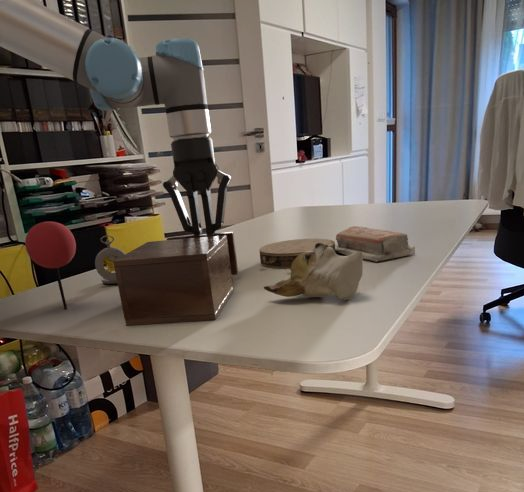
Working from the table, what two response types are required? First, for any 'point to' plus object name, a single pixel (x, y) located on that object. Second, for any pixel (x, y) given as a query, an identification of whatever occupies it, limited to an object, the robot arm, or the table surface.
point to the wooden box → (175, 280)
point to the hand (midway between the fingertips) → (209, 266)
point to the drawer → (229, 241)
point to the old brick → (373, 243)
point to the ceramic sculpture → (322, 274)
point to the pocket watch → (108, 255)
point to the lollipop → (51, 247)
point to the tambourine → (288, 251)
